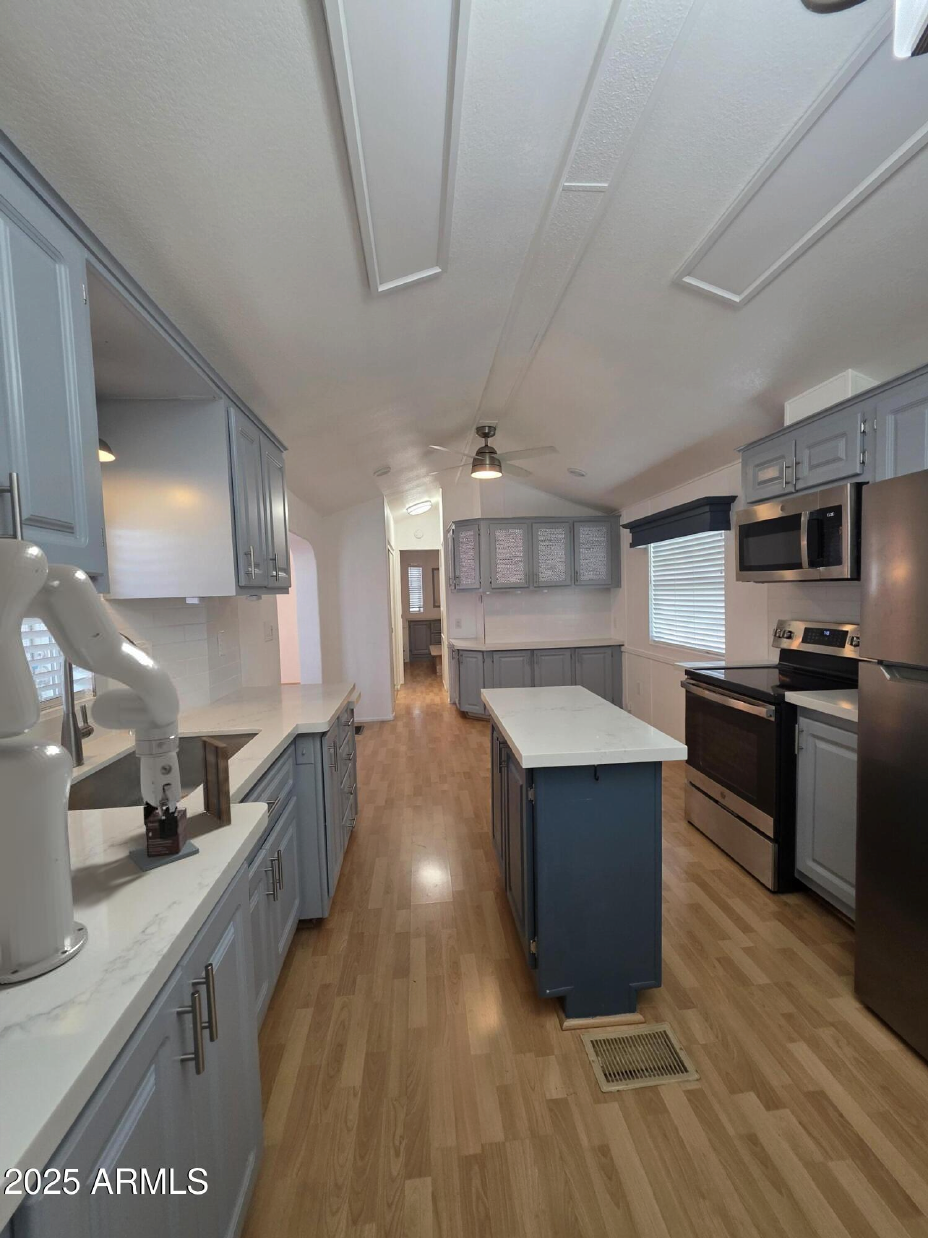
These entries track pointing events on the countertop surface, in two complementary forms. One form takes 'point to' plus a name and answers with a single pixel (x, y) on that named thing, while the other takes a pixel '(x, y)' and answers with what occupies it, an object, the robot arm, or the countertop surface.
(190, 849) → the mat
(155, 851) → the box
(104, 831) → the countertop surface
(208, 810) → the brown upright panel
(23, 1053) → the countertop surface
